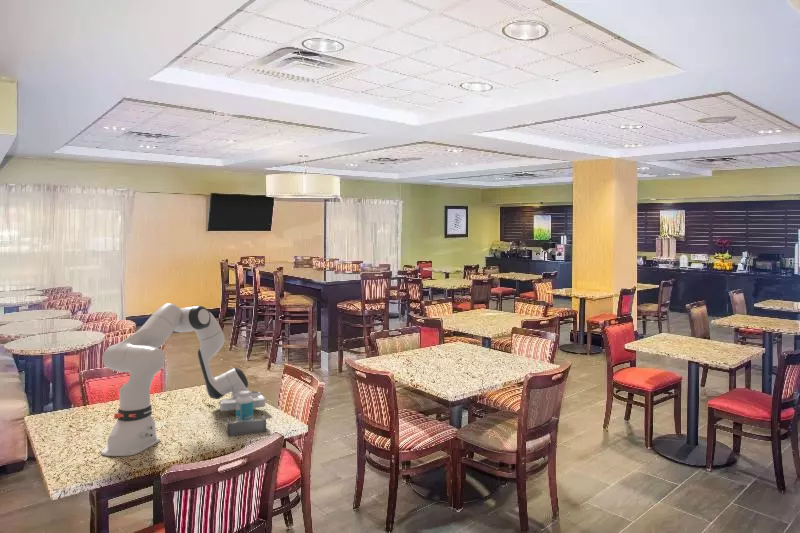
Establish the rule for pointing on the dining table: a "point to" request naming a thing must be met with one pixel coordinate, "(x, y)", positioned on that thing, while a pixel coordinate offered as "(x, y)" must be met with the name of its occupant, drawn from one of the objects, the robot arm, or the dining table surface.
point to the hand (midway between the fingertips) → (243, 408)
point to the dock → (246, 427)
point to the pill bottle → (244, 407)
